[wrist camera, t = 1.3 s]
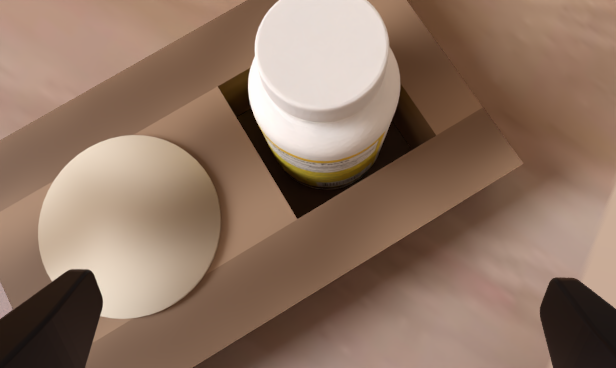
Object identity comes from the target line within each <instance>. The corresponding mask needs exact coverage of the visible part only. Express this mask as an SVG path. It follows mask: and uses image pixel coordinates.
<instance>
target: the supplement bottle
mask: <svg viewBox="0 0 616 368" xmlns="http://www.w3.org/2000/svg"><path fill="white" fill-rule="evenodd" d="M248 94H249V100H250V105H251V108H252V111H253V114H254V117H255V119H256V121H257V123H258V125H259V127H260V129H261V131H262V133H263V135H264V137H265V139H266V141H267V143H268V145H269V147H270V149H271V151H272V153H273V155H274V157H275V158H276V160H277V162H278V163H279V165H280V166H281V167H282V169H283V170H284V171H285V172H286V173H287V174H288V175H289V176H290V177H291V178H293V179H294V180H296V181H297V182H299V183H301V184H303V185H306V186H308V187H311V188H315V189H323V190H330V189H337V188H342V187H345V186H347V185H350V184H352V183H354V182H355V181H357V180H359V179H360V178H361V177H362V176H364V175H365V174H366V173H367V172H368V171H369V170H370V168H371V167H372V166H373V164H374V163H375V161H376V159H377V157H378V155H379V152H380V150H381V147H382V144H383V142H384V139H385V136H386V134H387V131H388V129H389V126H390V123H391V121H392V118H393V116H394V113H395V110H396V108H397V104H398V100H399V95H400V74H399V68H398V64H397V61H396V58H395V56H394V54H393V52H392V50H391V48H390V47H389V37H388V32H387V29H386V26H385V24H384V21H383V19H382V17H381V16H380V14H379V13H378V11H377V10H376V9H375V7H374V6H373V5H372V4H371V3H370V2H368V1H367V0H279V1H278V2H276V3H275V4H274V5H273V6H272V7H271V8H270V9H269V11H268V12H267V13H266V15H265V16H264V18H263V20H262V22H261V24H260V26H259V28H258V31H257V34H256V40H255V57H254V59H253V62H252V65H251V68H250V72H249V78H248Z"/></svg>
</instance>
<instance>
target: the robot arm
mask: <svg viewBox="0 0 616 368" xmlns="http://www.w3.org/2000/svg"><path fill="white" fill-rule="evenodd" d="M102 308H103V298H102V294H101V292H100V289H99V286H98V284H97V281H96V278H95V276H94V274H93V272H92V271H91V270H88V269H70V270H68V271H66V272H65V273H63V274H62V275H60V276H59V277H58V278H56V279H55V280H54V281H52V282H51V283H49V284H48V285H47V286H45V287H44V288H42V289H41V290H40V291H38V292H37V293H36V294H34V295H33V296H31V297H30V298H29V299H27V300H26V301H24V302H23V303H22V304H20V305H19V306H18V307H16V308H15V309H13V310H12V311H11V312H9V313H8V314H6V315H5V316H4V317H2V318H1V319H0V368H85V367H86V363H87V360H88V356H89V353H90V349H91V346H92V343H93V339H94V336H95V332H96V329H97V325H98V322H99V319H100V315H101V312H102ZM540 318H541V322H542V326H543V330H544V334H545V338H546V342H547V346H548V350H549V353H550V357H551V361H552V365H553V368H616V309H615V308H614V307H613V306H611V305H610V304H609V303H607V302H606V301H605V300H603V299H602V298H601V297H600V296H598V295H597V294H596V293H595V292H593V291H592V290H591V289H589V288H588V287H587V286H585V285H584V284H583V283H582V282H580V281H579V280H577V279H575V278H553V279H552V280H551V281H550V283H549V285H548V288H547V290H546V293H545V296H544V298H543V301H542V303H541V307H540Z"/></svg>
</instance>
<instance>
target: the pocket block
mask: <svg viewBox="0 0 616 368" xmlns="http://www.w3.org/2000/svg"><path fill="white" fill-rule="evenodd" d="M278 1H279V0H247V1H245V2H243V3H242V4H240V5H238V6H236V7H235V8H233V9H231V10H229V11H228V12H226V13H224V14H222V15H221V16H219V17H217V18H215V19H213V20H212V21H210V22H208V23H206V24H205V25H203V26H201V27H199V28H198V29H196V30H194V31H192V32H191V33H189V34H187V35H185V36H183V37H182V38H180V39H178V40H176V41H175V42H173V43H171V44H169V45H168V46H166V47H164V48H162V49H161V50H159V51H157V52H155V53H153V54H152V55H150V56H148V57H146V58H145V59H143V60H141V61H139V62H138V63H136V64H134V65H132V66H131V67H129V68H127V69H125V70H123V71H122V72H120V73H118V74H116V75H115V76H113V77H111V78H109V79H108V80H106V81H104V82H102V83H100V84H99V85H97V86H95V87H93V88H92V89H90V90H88V91H86V92H85V93H83V94H81V95H79V96H78V97H76V98H74V99H72V100H70V101H69V102H67V103H65V104H63V105H62V106H60V107H58V108H56V109H55V110H53V111H51V112H49V113H48V114H46V115H44V116H42V117H40V118H39V119H37V120H35V121H33V122H32V123H30V124H28V125H26V126H25V127H23V128H21V129H19V130H18V131H16V132H14V133H12V134H10V135H9V136H7V137H5V138H3V139H2V140H0V282H1V284H2V286H3V288H4V291H5V293H6V295H7V297H8V299H9V302H10V304H11V306H12V308H13V309H15V308H16V307H18V306H19V305H20V304H22V303H23V302H24V301H26V300H27V299H29V298H30V297H31V296H33V295H34V294H36V293H37V292H38V291H40V290H41V289H42V288H44V287H45V286H47V285H48V284H49V283H51V282H52V281H54V280H55V279H56V278H58V277H59V276H60V275H62V274H63V273H65V272H66V271H68V270H70V269H88V270H91V271H92V272H93V274H94V276H95V278H96V281H97V284H98V286H99V289H100V292H101V294H102V298H103V308H102V312H101V315H100V319H99V322H98V325H97V329H96V332H95V336H94V339H93V343H92V346H91V349H90V353H89V356H88V360H87V363H86V367H85V368H193V367H195V366H196V365H198V364H199V363H201V362H203V361H204V360H206V359H207V358H209V357H211V356H212V355H214V354H216V353H217V352H219V351H220V350H222V349H224V348H225V347H227V346H229V345H230V344H232V343H233V342H235V341H237V340H238V339H240V338H242V337H243V336H245V335H246V334H248V333H250V332H251V331H253V330H255V329H256V328H258V327H259V326H261V325H263V324H264V323H266V322H268V321H269V320H271V319H272V318H274V317H276V316H277V315H279V314H281V313H282V312H284V311H285V310H287V309H289V308H290V307H292V306H294V305H295V304H297V303H298V302H300V301H302V300H303V299H305V298H307V297H308V296H310V295H311V294H313V293H315V292H316V291H318V290H319V289H321V288H323V287H324V286H326V285H328V284H329V283H331V282H332V281H334V280H336V279H337V278H339V277H341V276H342V275H344V274H345V273H347V272H349V271H350V270H352V269H354V268H355V267H357V266H358V265H360V264H362V263H363V262H365V261H367V260H368V259H370V258H371V257H373V256H375V255H376V254H378V253H380V252H381V251H383V250H384V249H386V248H388V247H389V246H391V245H393V244H394V243H396V242H397V241H399V240H401V239H402V238H404V237H406V236H407V235H409V234H410V233H412V232H414V231H415V230H417V229H419V228H420V227H422V226H423V225H425V224H427V223H428V222H430V221H431V220H433V219H435V218H436V217H438V216H440V215H441V214H443V213H444V212H446V211H448V210H449V209H451V208H453V207H454V206H456V205H457V204H459V203H461V202H462V201H464V200H466V199H467V198H469V197H470V196H472V195H474V194H475V193H477V192H479V191H480V190H482V189H483V188H485V187H487V186H488V185H490V184H492V183H493V182H495V181H496V180H498V179H500V178H501V177H503V176H505V175H506V174H508V173H509V172H511V171H513V170H514V169H516V168H518V167H519V166H521V165H522V164H523V162H522V161H521V159H520V158H519V157H518V155H517V154H516V152H515V151H514V150H513V148H512V147H511V145H510V144H509V143H508V141H507V140H506V138H505V137H504V136H503V134H502V133H501V131H500V130H499V129H498V127H497V126H496V124H495V123H494V122H493V120H492V119H491V117H490V116H489V115H488V113H487V112H486V110H485V109H484V108H483V106H482V105H481V103H480V102H479V101H478V99H477V98H476V96H475V95H474V94H473V92H472V91H471V89H470V88H469V87H468V85H467V84H466V82H465V81H464V80H463V78H462V77H461V76H460V74H459V73H458V71H457V70H456V69H455V67H454V66H453V64H452V63H451V62H450V60H449V59H448V57H447V56H446V55H445V53H444V52H443V50H442V49H441V48H440V46H439V45H438V43H437V42H436V41H435V39H434V38H433V36H432V35H431V34H430V32H429V31H428V29H427V28H426V27H425V25H424V24H423V22H422V21H421V20H420V18H419V17H418V15H417V14H416V13H415V11H414V10H413V8H412V7H411V6H410V4H409V3H408V1H407V0H367V1H368V2H370V3H371V4H372V5H373V6H374V7H375V9H376V10H377V11H378V13H379V14H380V16H381V17H382V19H383V21H384V24H385V26H386V29H387V32H388V37H389V47H390V48H391V50H392V52H393V54H394V56H395V58H396V61H397V64H398V68H399V74H400V95H399V100H398V104H397V108H396V110H395V113H394V116H393V118H392V121H393V122H394V124H395V125H396V127H397V128H398V130H399V131H400V133H401V134H402V136H403V137H404V139H405V140H406V142H407V143H408V145H409V146H410V148H411V149H412V150H411V151H410V152H408V153H406V154H405V155H403V156H401V157H400V158H398V159H396V160H395V161H393V162H391V163H390V164H388V165H386V166H385V167H383V168H382V169H380V170H378V171H377V172H375V173H373V174H372V175H370V176H368V177H367V178H365V179H363V180H362V181H360V182H358V183H357V184H355V185H353V186H352V187H350V188H348V189H347V190H345V191H343V192H342V193H340V194H338V195H337V196H335V197H333V198H332V199H330V200H328V201H327V202H325V203H324V204H322V205H320V206H319V207H317V208H315V209H314V210H312V211H310V212H309V213H307V214H305V215H304V216H302V217H300V218H299V219H297V218H296V216H295V214H294V213H293V211H292V209H291V208H290V206H289V204H288V203H287V201H286V199H285V198H284V196H283V194H282V193H281V191H280V189H279V188H278V186H277V184H276V183H275V181H274V179H273V178H272V176H271V174H270V173H269V171H268V169H267V168H266V166H265V164H264V163H263V161H262V159H261V158H260V156H259V154H258V153H257V151H256V149H255V148H254V146H253V144H252V143H251V141H250V139H249V138H248V136H247V134H246V133H245V131H244V129H243V128H242V126H241V124H240V123H239V121H238V119H237V118H236V117H237V116H238V115H240V114H242V113H244V112H245V111H247V110H249V109H250V108H251V105H250V100H249V94H248V78H249V72H250V68H251V65H252V62H253V59H254V57H255V40H256V34H257V31H258V28H259V26H260V24H261V22H262V20H263V18H264V16H265V15H266V13H267V12H268V11H269V9H270V8H271V7H272V6H273V5H274V4H275V3H276V2H278Z"/></svg>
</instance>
